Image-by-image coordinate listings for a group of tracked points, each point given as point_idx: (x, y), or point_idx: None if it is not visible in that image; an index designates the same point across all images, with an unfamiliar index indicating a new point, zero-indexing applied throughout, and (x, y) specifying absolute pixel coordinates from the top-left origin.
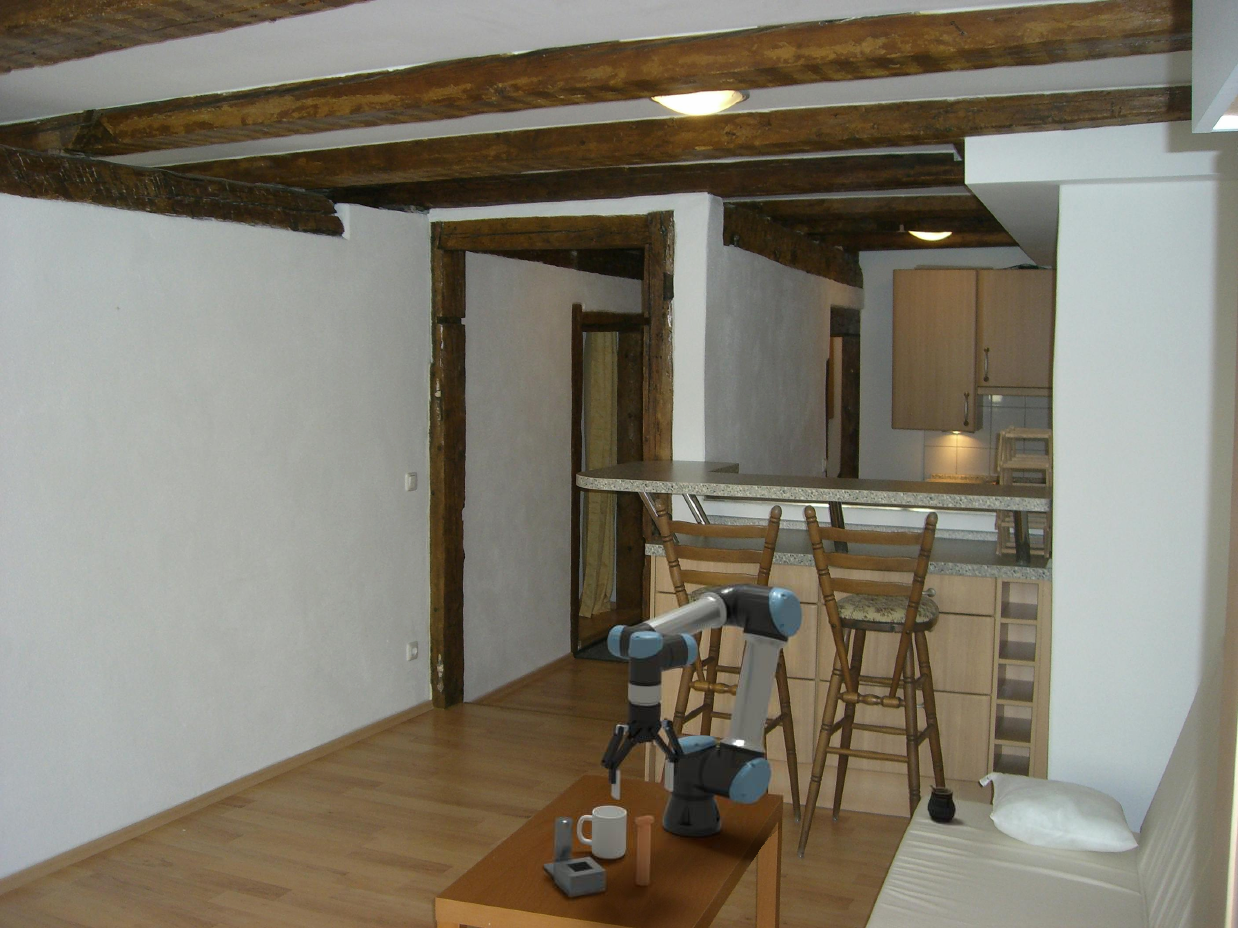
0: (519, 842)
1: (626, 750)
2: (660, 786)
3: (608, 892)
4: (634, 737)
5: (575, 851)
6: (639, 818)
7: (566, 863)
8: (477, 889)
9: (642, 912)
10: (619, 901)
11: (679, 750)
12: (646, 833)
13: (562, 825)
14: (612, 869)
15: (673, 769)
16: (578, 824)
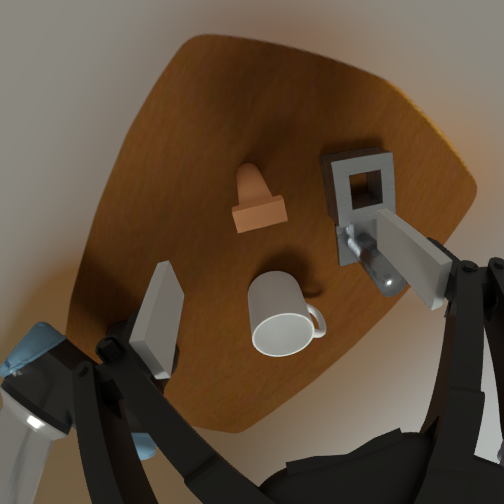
0: (371, 323)
1: (472, 349)
2: None
3: (315, 148)
4: (470, 443)
5: (318, 297)
6: (277, 211)
7: (381, 206)
8: (455, 203)
9: (278, 63)
10: (306, 110)
11: (86, 395)
12: (254, 186)
13: None
14: (284, 233)
15: (137, 318)
16: (325, 325)
